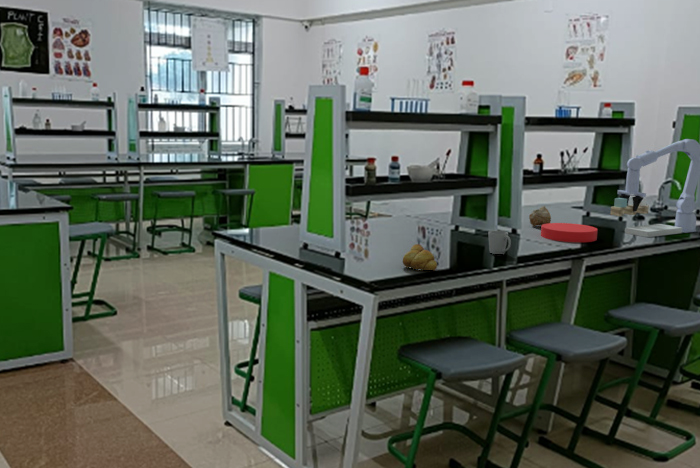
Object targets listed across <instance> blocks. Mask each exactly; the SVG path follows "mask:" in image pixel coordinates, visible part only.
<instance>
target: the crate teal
mask: <svg viewBox="0 0 700 468" xmlns="http://www.w3.org/2000/svg"><path fill="white" fill-rule="evenodd" d="M613 206H614V207H620V208H623V207H627V199H624V198H620V197H616V198H614V203H613Z"/></svg>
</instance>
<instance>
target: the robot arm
mask: <svg viewBox="0 0 700 468" xmlns="http://www.w3.org/2000/svg"><path fill="white" fill-rule="evenodd" d="M674 152H683V153H685V154H686V155H687V156H688V158H689V159H690V163H689V167H688V170H687V175H686V179H685V182H684V186H683V189H682V193H680V196H679V198H678V199H677V201H676V202H675V207H676V209H677V210H676V211H675V212H676V213H675V222H674V226H675V227H681V228H683V229H682V233H685V234H686V233H693V232H697V230H696V226H697V215H696V214H695V213H694V211H695V208H696V204H695V200H696V195H695V193H696V189H697V186H698V182H699V178H700V143H699V142H698V141H697V140H696V139H690V138H685V139H682V140H678V141H675V142H673V143H670V144H669V145H666V146H664V147H662V148H659V149H658V150H655V151H654V150H653V149H652V150H649V149H648V150H645V152H644V153H642V154H639V155H638V154H637V155H635V157H632V158H629V159H628V160H627V162H626V167H627V173H626V180H625V181H626V183H625V190H622V189H617V195H619V197H618V198H624V199H627V205H629V199H630V198H631V197H632V205H633V211H637V209H638V206H639V204H640V202H641V201H642V200H643V197H646V198H647V193H646V192H640V191H639V186H640V177H641V176H640V175H641V174H640V173H641V169H642V167H646V166H649V165H650V164H652V163H656V162H657V160H658V158H660V157H663V156H666V155H668V154H671V153H674Z"/></svg>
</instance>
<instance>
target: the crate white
mask: <svg viewBox="0 0 700 468" xmlns="http://www.w3.org/2000/svg"><path fill="white" fill-rule="evenodd" d="M647 200H648V197H647V196H646V197H643V200H642V201H641V202H640V204H639V206H646V205H647V202H648V201H647Z"/></svg>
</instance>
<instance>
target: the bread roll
mask: <svg viewBox="0 0 700 468" xmlns="http://www.w3.org/2000/svg"><path fill="white" fill-rule="evenodd" d="M402 265H403V266H404V267H405V266H406V267H405V268H407V267H411V268H413V269H412V270H414V269H422V270H421V271H423V270H433V271H435V270H436V269H437V267H438V264H437V261H436V260H435V255H434V254H433V253H432V252H431V251H429V250H427V249H425V248H424V247H423V246H422V245H421V244H419V243H416V244H413V245H412V246H411V248H410V250H409V251H408V252H406V253H404V255H403V257H402ZM411 268H410V269H411Z"/></svg>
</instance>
